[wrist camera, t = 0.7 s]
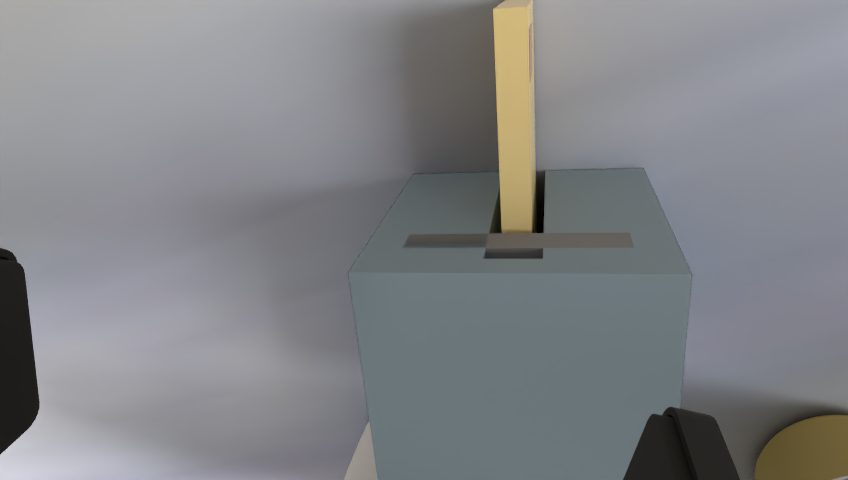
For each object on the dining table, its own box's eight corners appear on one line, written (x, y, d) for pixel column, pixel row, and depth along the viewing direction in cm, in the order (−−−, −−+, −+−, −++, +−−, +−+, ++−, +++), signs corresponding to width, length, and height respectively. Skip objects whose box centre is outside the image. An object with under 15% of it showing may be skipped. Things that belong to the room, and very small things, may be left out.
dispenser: (643, 168, 26) (692, 274, 17) (632, 370, 30) (668, 544, 21) (413, 173, 28) (347, 272, 19) (430, 362, 32) (383, 519, 23)
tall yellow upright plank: (533, -4, 24) (528, 6, 18) (537, 277, 29) (534, 355, 23) (506, -1, 24) (492, 9, 19) (514, 277, 29) (505, 354, 23)
